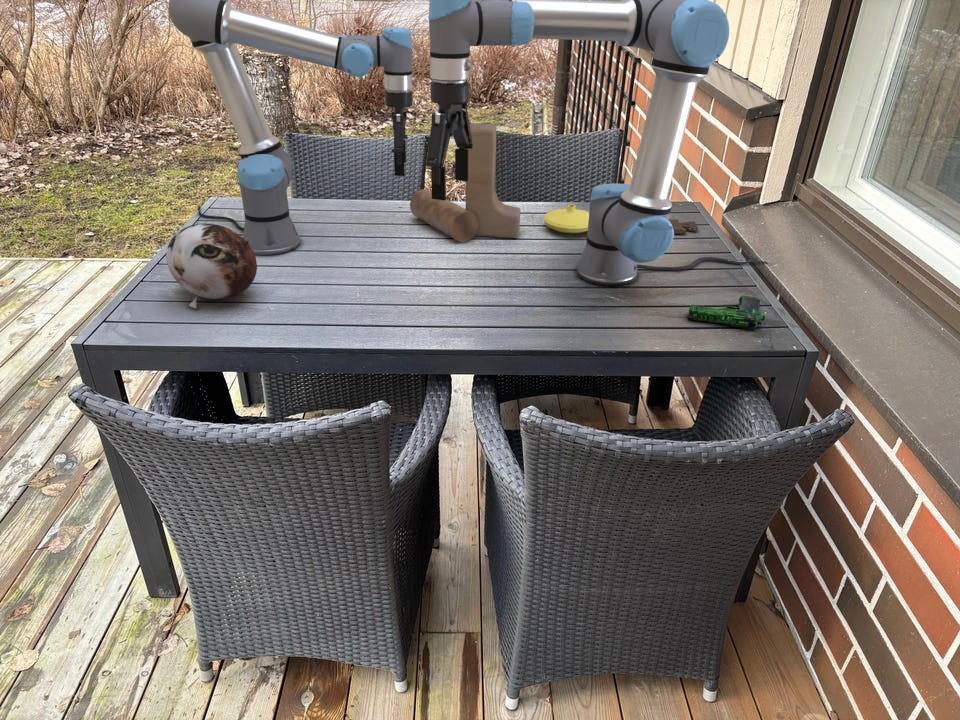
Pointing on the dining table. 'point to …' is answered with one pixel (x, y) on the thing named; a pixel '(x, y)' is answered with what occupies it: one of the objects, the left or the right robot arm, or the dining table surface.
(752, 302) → the handgun
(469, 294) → the dining table surface
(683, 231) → the brown jagged flat piece
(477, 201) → the decorative block
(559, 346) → the dining table surface
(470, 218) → the rod
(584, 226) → the yellow lid
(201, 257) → the cat face balloon
